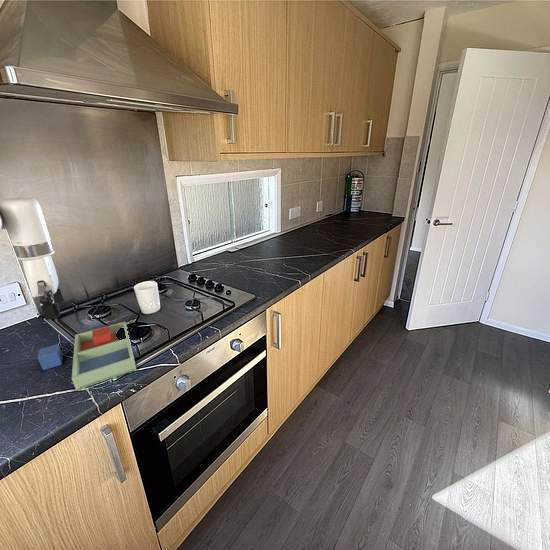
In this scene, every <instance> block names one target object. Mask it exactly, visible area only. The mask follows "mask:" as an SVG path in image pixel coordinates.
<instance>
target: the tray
mask: <svg viewBox="0 0 550 550" xmlns="http://www.w3.org/2000/svg"><path fill="white" fill-rule="evenodd" d="M108 326H109V329H110V333H111V336H112V341H113V342H111V343H108V344H105V345H101V346H98V347H95V345H94V341H93V338H92V331H94V330H97V329H101V328H105V327H108ZM122 327H124V331H125V336H126V338H125V339H122V340H118V339H117V338H116V334H117V333H116V332H117V331H118V330H119V329H120V328H122ZM127 329H128V326H127V322H126V321H122V322H118V323H114V324H110V325H107V326H103V327H99V328H95V329H92V330H88V331H84V332H80V333H76V334H75V335H74V345H73V354H72V355H73V357H72V370H71V381H72V384H73V386H74V388H75V391H79V390H82V389H85V388H88V387H91V386H93V385H97V384H98V383H99V384H100V383H102V382H105V381H107V380H111V379H113V378H117V377H119V376H123V375H126V374H128V373H131V372H134V371H137V364H136V361H135V356H134V351H133V347H132V343H131V338H130V334H129V335H128V333H129V330H128V331H127ZM129 338H130V339H129Z"/></svg>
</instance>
